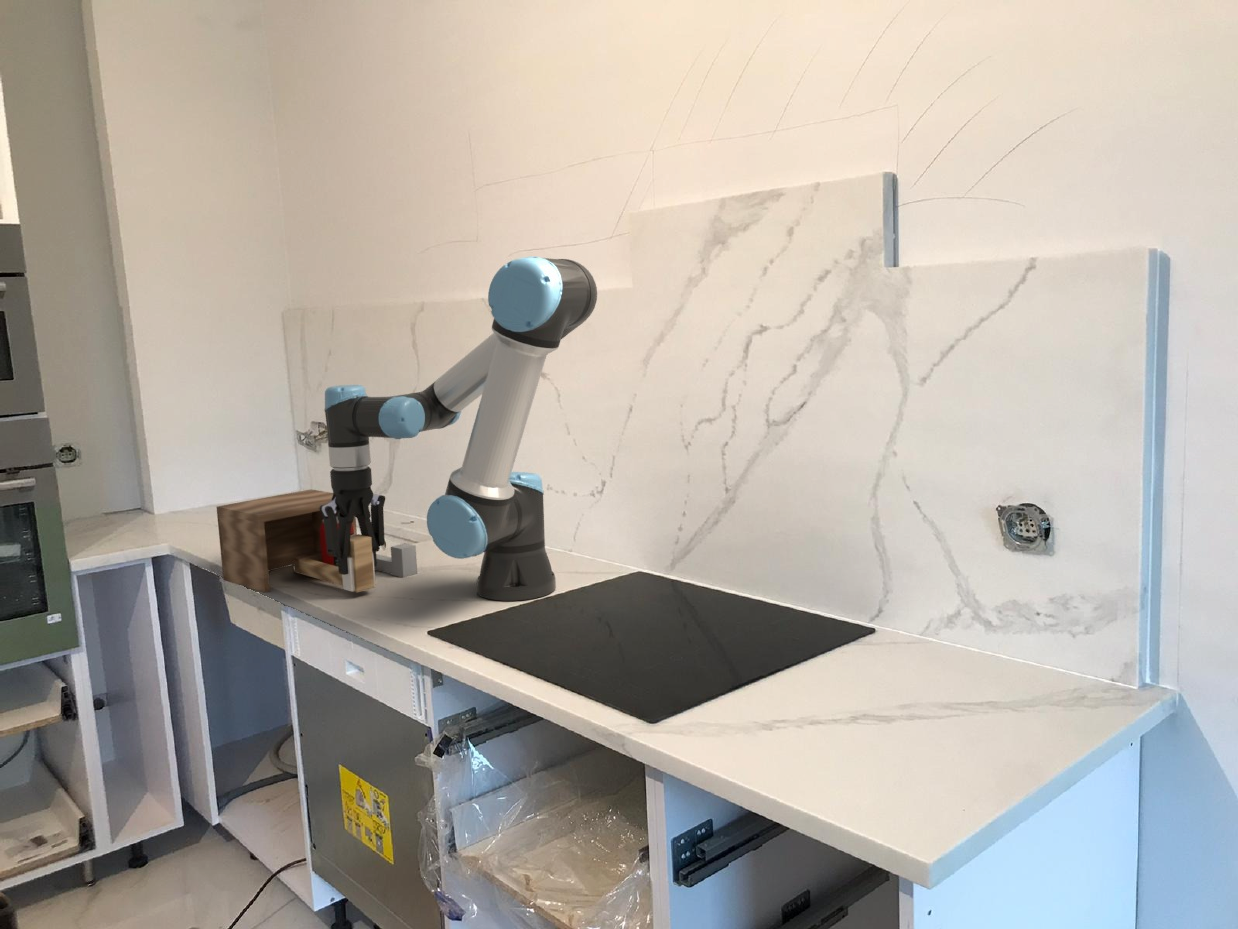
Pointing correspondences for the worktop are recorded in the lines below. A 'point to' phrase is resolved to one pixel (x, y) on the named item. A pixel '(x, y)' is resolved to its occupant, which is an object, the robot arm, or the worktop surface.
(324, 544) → the beverage can
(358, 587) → the crook tool
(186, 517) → the worktop surface
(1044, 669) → the worktop surface
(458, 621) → the worktop surface
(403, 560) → the grey hooked tool
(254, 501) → the shelf
